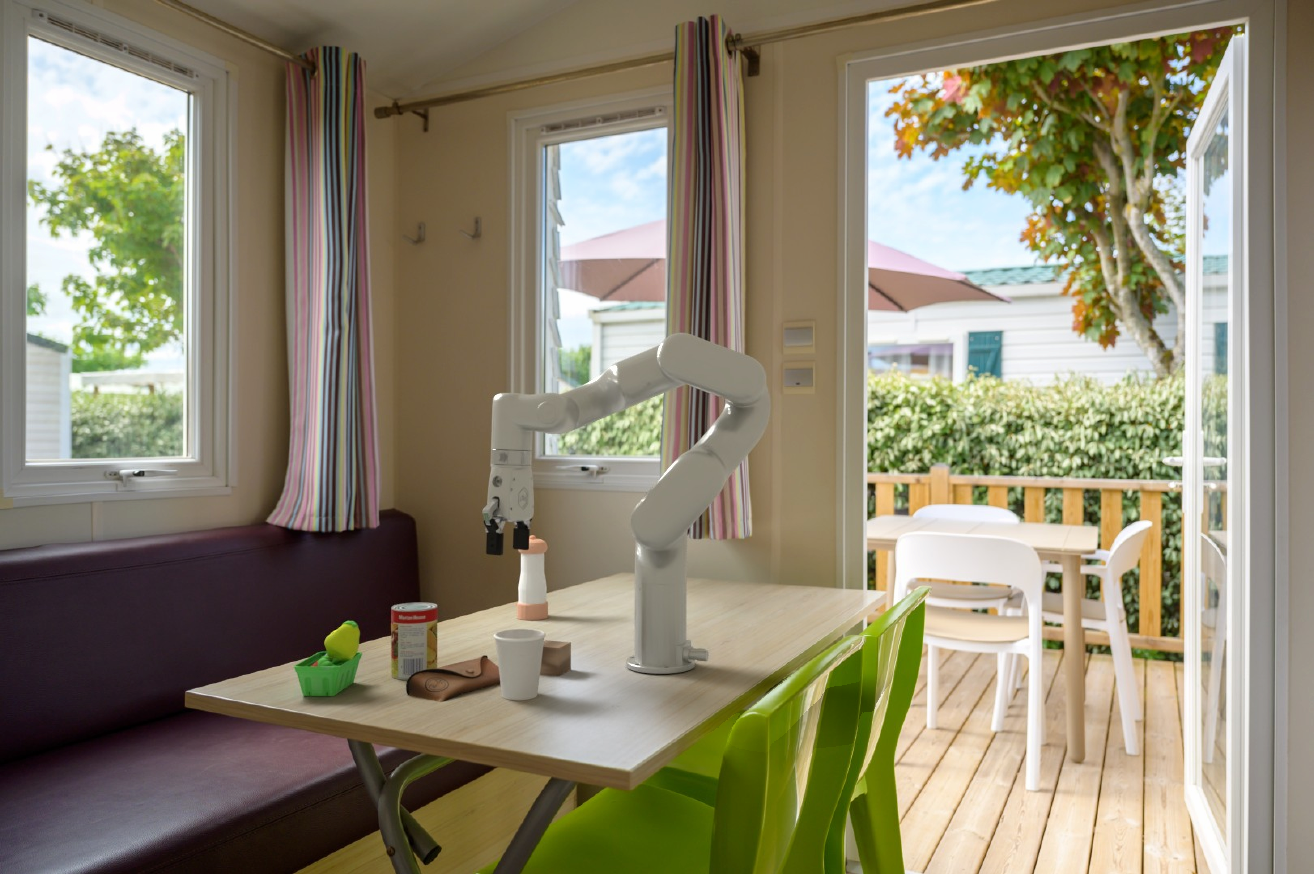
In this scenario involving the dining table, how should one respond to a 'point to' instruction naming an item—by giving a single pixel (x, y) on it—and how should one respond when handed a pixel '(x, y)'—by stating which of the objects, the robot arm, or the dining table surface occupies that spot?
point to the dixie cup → (519, 662)
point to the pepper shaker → (532, 582)
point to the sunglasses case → (453, 679)
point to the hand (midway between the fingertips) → (508, 551)
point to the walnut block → (555, 658)
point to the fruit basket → (332, 663)
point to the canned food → (413, 638)
